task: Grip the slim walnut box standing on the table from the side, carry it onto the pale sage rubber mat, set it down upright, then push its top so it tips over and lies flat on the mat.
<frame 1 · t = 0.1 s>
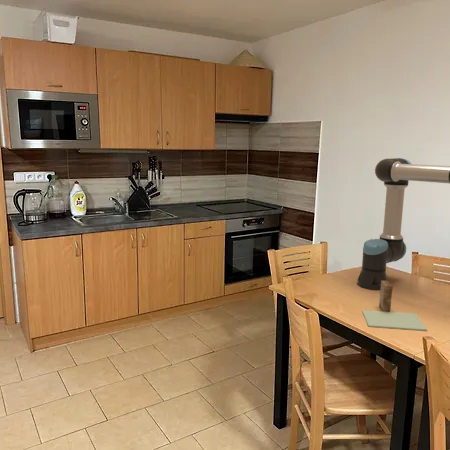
slim walnut box: (384, 309, 186), on the table
mat: (392, 320, 174), on the table
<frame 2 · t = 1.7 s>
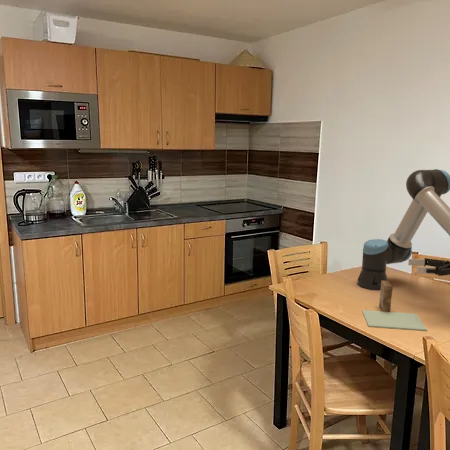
hand: (412, 265, 181), 20 cm above the table, fingers open, 13 cm apart
nothing on the table moved.
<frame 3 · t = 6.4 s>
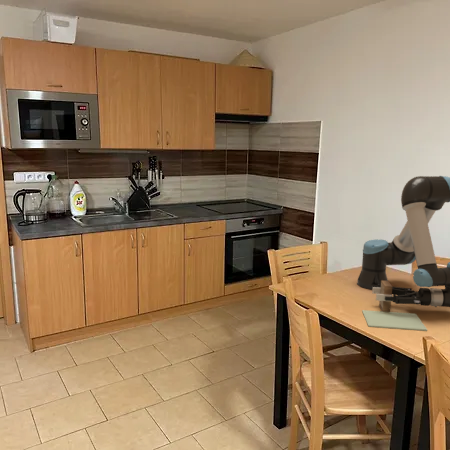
hand: (374, 293, 185), 7 cm above the table, fingers closed on slim walnut box, 8 cm apart
slim walnut box: (384, 309, 186), on the table, touching gripper
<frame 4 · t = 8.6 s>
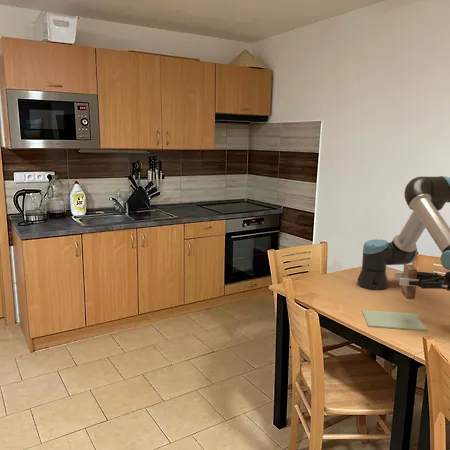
hand: (397, 278, 171), 18 cm above the table, fingers closed on slim walnut box, 8 cm apart
slim walnut box: (408, 295, 171), point 11 cm above the table, touching gripper
when the fingers open (9 cm above the table, at t = 11.2 s): slim walnut box stays where it is, resting on mat.
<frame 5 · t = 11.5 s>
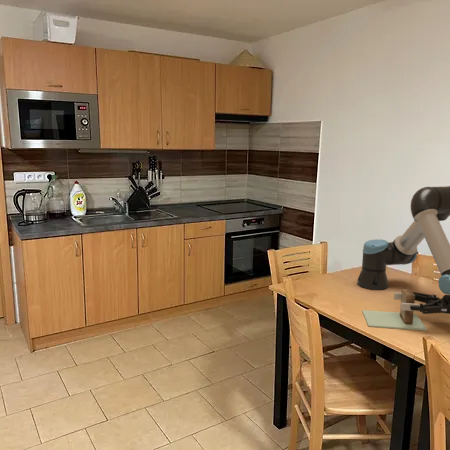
hand: (397, 301, 172), 9 cm above the table, fingers open, 11 cm apart
slim walnut box: (405, 320, 173), point 1 cm above the table, touching mat
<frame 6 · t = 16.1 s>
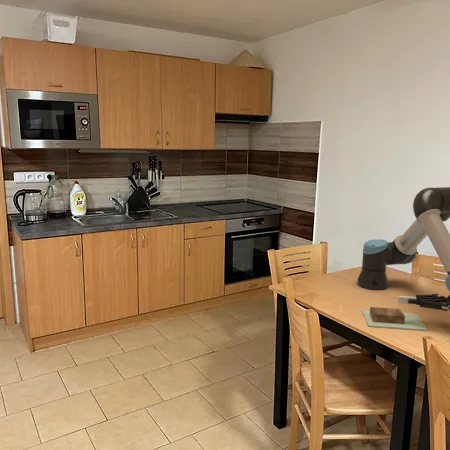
hand: (398, 299, 171), 9 cm above the table, fingers closed
slim walnut box: (402, 316, 173), point 2 cm above the table, tilted 90°, touching mat
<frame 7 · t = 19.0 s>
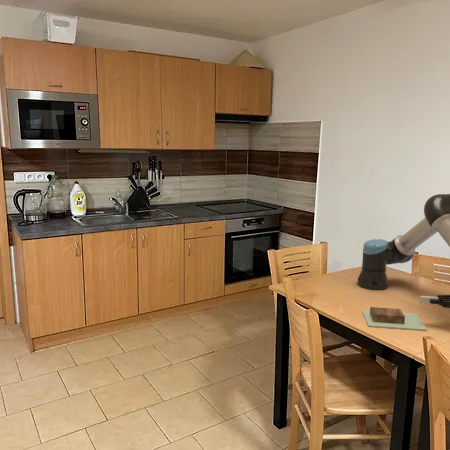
hand: (420, 299, 170), 10 cm above the table, fingers closed
nothing on the table moved.
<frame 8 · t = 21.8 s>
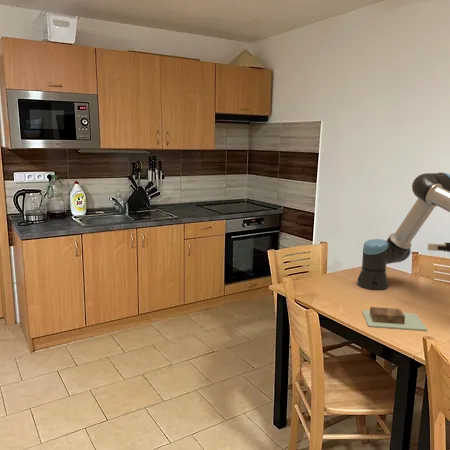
hand: (428, 246, 174), 30 cm above the table, fingers closed
nothing on the table moved.
at the end: slim walnut box tilted 90°; slim walnut box inside the target area on the mat (3.5 cm from its centre), point 2.2 cm above the mat's base; the gripper is holding nothing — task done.
